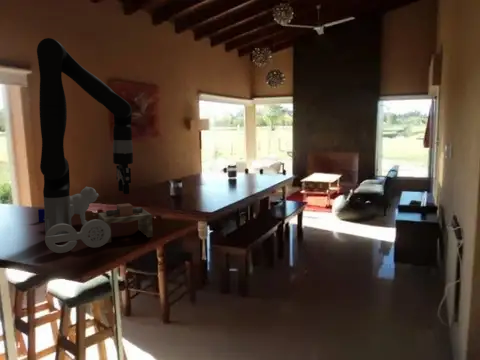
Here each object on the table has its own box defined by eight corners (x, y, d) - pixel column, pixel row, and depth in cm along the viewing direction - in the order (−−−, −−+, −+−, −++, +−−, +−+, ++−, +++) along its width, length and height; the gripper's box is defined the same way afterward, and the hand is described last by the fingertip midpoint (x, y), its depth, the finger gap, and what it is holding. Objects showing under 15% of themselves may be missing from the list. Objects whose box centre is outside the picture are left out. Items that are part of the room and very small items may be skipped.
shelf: (106, 242, 154) (104, 214, 153) (99, 234, 167) (98, 208, 165) (152, 236, 163) (151, 209, 162) (143, 229, 175) (142, 204, 174)
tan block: (120, 223, 160) (119, 206, 160) (117, 220, 165) (116, 204, 164) (133, 221, 163) (132, 205, 162) (129, 219, 168) (129, 203, 167)
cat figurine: (47, 232, 172) (44, 192, 169) (41, 227, 180) (38, 189, 178) (105, 223, 187) (103, 187, 185) (97, 219, 195) (95, 184, 193)
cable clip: (49, 216, 202) (49, 204, 201) (58, 216, 202) (57, 204, 201) (35, 222, 190) (34, 209, 189) (45, 222, 190) (44, 209, 189)
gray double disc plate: (109, 243, 154) (108, 217, 153) (111, 245, 152) (110, 218, 151) (45, 253, 142) (44, 225, 141) (46, 255, 140) (44, 226, 139)
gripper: (109, 150, 165) (110, 190, 167) (117, 152, 153) (118, 195, 155) (128, 150, 169) (128, 189, 171) (137, 152, 156) (137, 194, 158)
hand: (123, 192), depth 163 cm, fingers open, 8 cm apart
